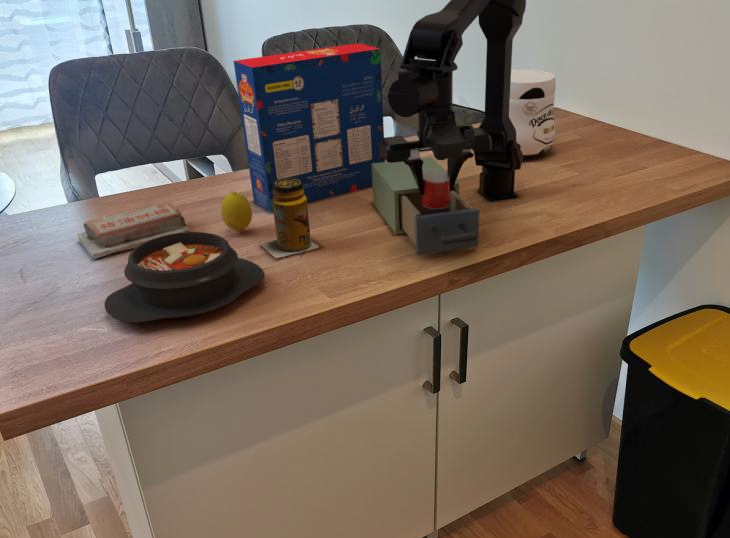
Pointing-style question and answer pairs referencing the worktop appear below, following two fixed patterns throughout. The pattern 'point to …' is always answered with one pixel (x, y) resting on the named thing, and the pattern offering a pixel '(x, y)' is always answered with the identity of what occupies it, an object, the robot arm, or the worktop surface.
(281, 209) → the condiment
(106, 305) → the casserole
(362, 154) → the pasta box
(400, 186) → the cabinet
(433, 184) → the can
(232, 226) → the lemon
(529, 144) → the milk container
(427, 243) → the drawer
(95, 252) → the packaged product
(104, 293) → the worktop surface
